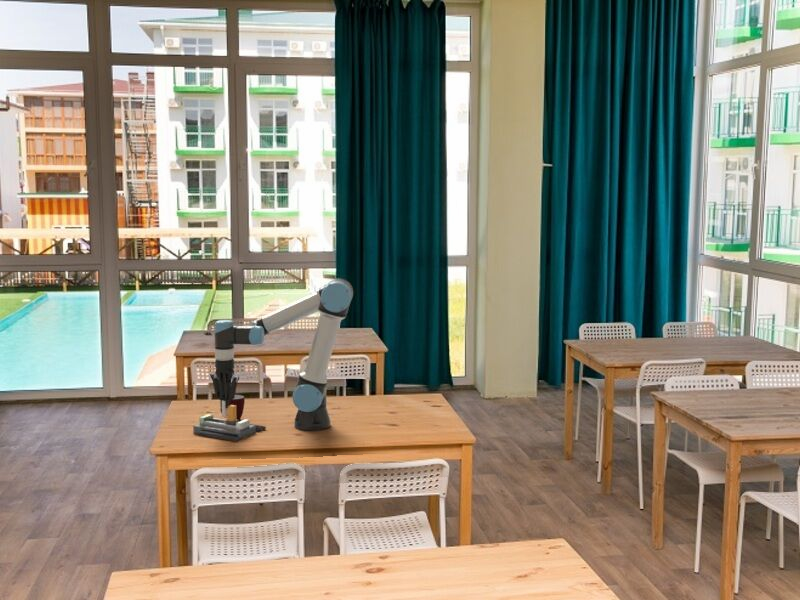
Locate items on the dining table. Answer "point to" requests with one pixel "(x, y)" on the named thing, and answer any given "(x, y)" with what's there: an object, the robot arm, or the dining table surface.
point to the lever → (232, 415)
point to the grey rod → (258, 428)
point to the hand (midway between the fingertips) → (225, 415)
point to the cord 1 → (218, 435)
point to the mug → (238, 405)
